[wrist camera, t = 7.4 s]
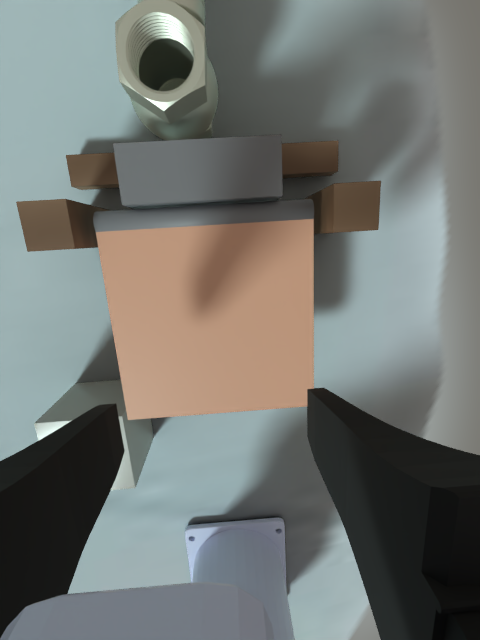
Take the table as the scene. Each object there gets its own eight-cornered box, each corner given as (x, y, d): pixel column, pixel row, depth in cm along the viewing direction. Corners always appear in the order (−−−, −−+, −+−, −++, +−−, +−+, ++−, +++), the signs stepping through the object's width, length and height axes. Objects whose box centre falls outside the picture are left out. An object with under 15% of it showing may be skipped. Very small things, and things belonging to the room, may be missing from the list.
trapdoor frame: (330, 232, 20) (378, 229, 14) (91, 247, 20) (27, 251, 13) (331, 146, 19) (384, 99, 12) (76, 160, 18) (-3, 119, 12)
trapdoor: (306, 392, 18) (316, 410, 16) (135, 405, 18) (124, 425, 16) (305, 146, 15) (316, 132, 13) (95, 157, 15) (76, 145, 13)
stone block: (154, 436, 23) (135, 488, 18) (89, 441, 23) (53, 495, 18) (144, 377, 22) (122, 416, 17) (76, 382, 22) (34, 423, 17)
